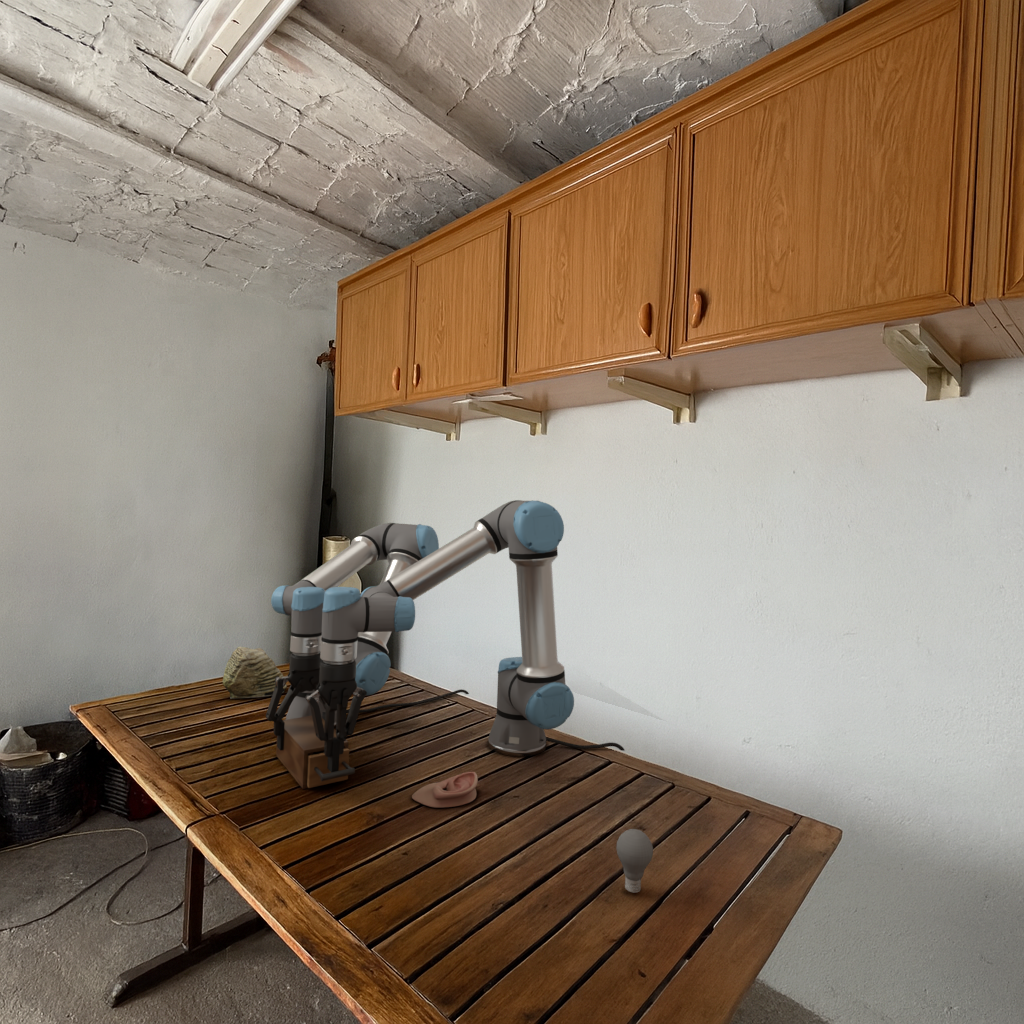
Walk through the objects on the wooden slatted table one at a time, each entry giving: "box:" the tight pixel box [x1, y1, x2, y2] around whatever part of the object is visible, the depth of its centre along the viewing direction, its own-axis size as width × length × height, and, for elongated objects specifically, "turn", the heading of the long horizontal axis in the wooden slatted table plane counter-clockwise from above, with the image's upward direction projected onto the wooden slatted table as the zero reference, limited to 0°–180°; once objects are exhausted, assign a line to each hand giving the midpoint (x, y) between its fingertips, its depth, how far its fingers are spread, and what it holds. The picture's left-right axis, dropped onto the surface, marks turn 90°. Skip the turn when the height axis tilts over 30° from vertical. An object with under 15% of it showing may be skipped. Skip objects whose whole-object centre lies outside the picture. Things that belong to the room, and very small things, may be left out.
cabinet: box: [275, 716, 349, 790], centre depth 148 cm, size 20×10×8 cm, turn 36°
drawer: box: [307, 747, 356, 789], centre depth 143 cm, size 25×9×7 cm, turn 36°
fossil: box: [222, 646, 288, 699], centre depth 198 cm, size 9×18×15 cm, turn 132°
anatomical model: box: [411, 771, 479, 809], centre depth 136 cm, size 13×4×12 cm
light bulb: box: [615, 828, 654, 894], centre depth 106 cm, size 6×6×10 cm
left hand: (302, 743), depth 153 cm, fingers closed on cabinet, 10 cm apart
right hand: (332, 769), depth 135 cm, fingers closed
